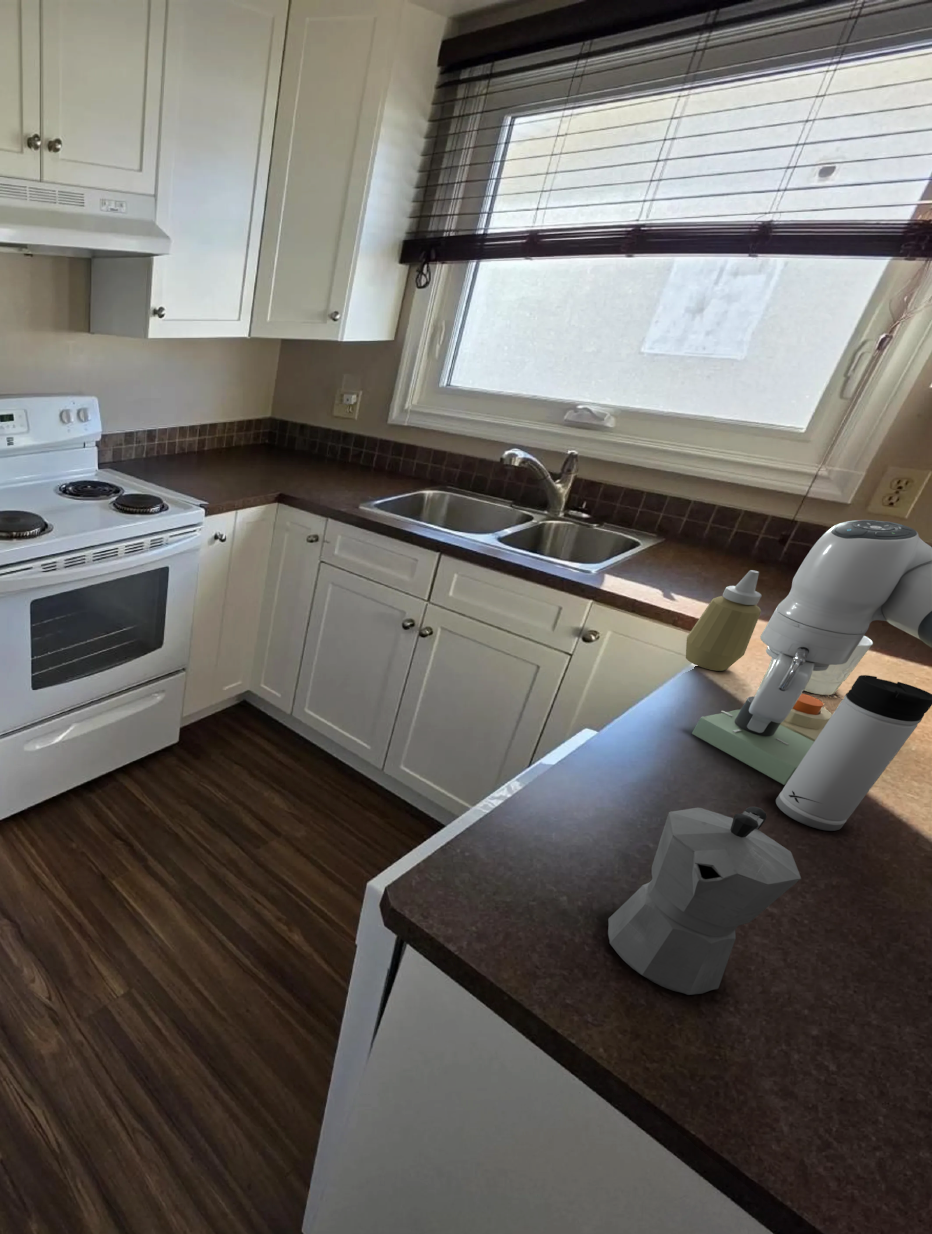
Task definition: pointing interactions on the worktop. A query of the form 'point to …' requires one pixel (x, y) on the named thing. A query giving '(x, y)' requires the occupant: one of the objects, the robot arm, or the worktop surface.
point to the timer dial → (746, 716)
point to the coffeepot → (700, 897)
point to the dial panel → (755, 745)
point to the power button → (808, 704)
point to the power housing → (807, 723)
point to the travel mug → (852, 751)
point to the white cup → (837, 672)
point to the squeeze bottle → (725, 626)
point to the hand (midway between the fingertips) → (757, 721)
